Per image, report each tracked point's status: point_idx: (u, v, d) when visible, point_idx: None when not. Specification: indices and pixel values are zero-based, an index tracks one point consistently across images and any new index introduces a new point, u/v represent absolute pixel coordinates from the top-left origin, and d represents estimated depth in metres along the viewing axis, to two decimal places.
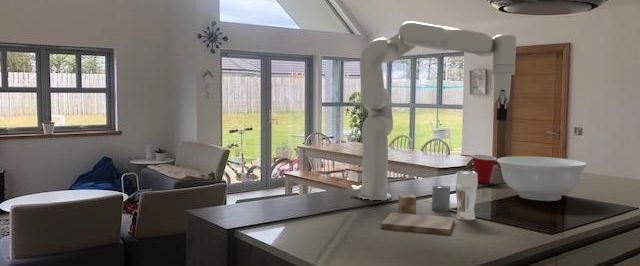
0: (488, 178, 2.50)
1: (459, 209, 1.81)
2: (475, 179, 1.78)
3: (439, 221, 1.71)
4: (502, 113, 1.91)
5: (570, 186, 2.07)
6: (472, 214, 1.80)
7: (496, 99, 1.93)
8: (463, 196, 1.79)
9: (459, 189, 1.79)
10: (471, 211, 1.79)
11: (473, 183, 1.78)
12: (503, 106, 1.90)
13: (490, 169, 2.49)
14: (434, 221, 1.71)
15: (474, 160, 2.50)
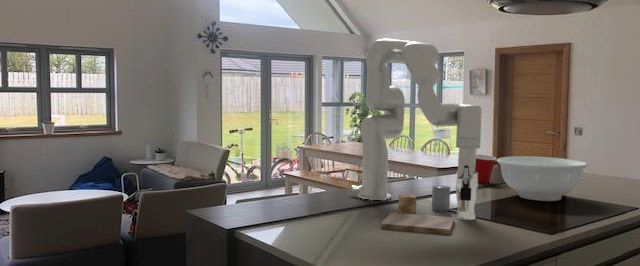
0: (488, 178, 2.50)
1: (459, 209, 1.81)
2: (475, 179, 1.78)
3: (439, 221, 1.71)
4: (466, 193, 1.77)
5: (570, 186, 2.07)
6: (472, 214, 1.80)
7: (459, 175, 1.77)
8: None
9: (459, 189, 1.79)
10: (471, 211, 1.79)
11: (473, 183, 1.78)
12: (467, 186, 1.76)
13: (490, 169, 2.49)
14: (434, 221, 1.71)
15: None
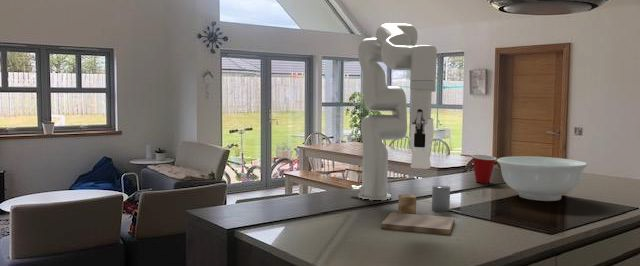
0: (488, 178, 2.50)
1: (413, 157, 1.69)
2: (430, 125, 1.67)
3: (439, 221, 1.71)
4: (419, 139, 1.65)
5: (570, 186, 2.07)
6: (427, 162, 1.68)
7: (413, 120, 1.65)
8: None
9: (413, 136, 1.68)
10: (426, 159, 1.68)
11: (428, 129, 1.66)
12: (420, 131, 1.64)
13: (490, 169, 2.49)
14: (434, 221, 1.71)
15: (474, 160, 2.50)
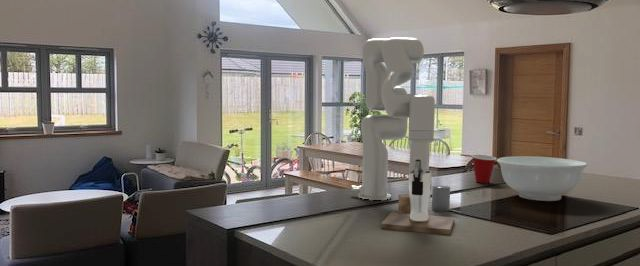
0: (488, 178, 2.50)
1: (412, 210, 1.71)
2: (428, 179, 1.68)
3: (439, 221, 1.71)
4: (417, 187, 1.65)
5: (570, 186, 2.07)
6: (425, 216, 1.70)
7: (411, 170, 1.66)
8: (415, 197, 1.69)
9: (411, 189, 1.69)
10: (424, 213, 1.69)
11: (426, 183, 1.68)
12: (418, 179, 1.64)
13: (490, 169, 2.49)
14: (434, 221, 1.71)
15: (474, 160, 2.50)
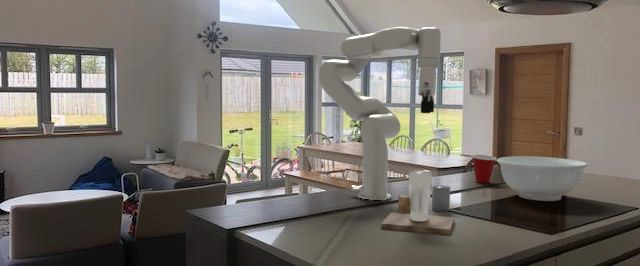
0: (488, 178, 2.50)
1: (412, 210, 1.71)
2: (428, 179, 1.68)
3: (439, 221, 1.71)
4: (425, 106, 1.91)
5: (570, 186, 2.07)
6: (425, 216, 1.70)
7: (420, 92, 1.93)
8: (415, 197, 1.69)
9: (412, 189, 1.69)
10: (424, 213, 1.69)
11: (426, 183, 1.68)
12: (426, 99, 1.90)
13: (490, 169, 2.49)
14: (434, 221, 1.71)
15: (474, 160, 2.50)
